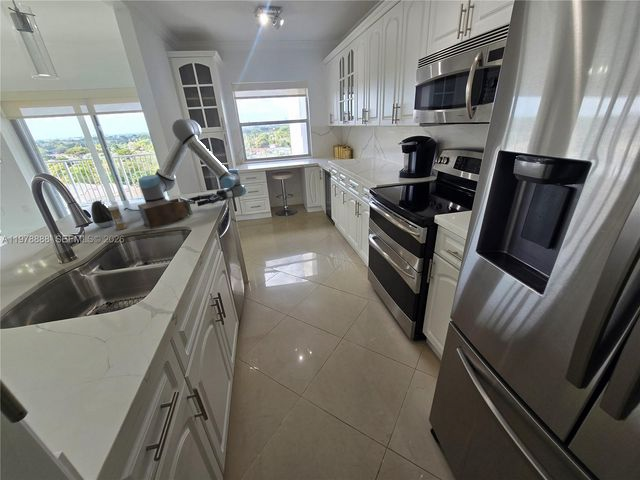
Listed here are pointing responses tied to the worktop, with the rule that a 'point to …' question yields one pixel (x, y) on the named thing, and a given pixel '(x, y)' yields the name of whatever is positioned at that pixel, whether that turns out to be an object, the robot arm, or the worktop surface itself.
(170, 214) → the cabinet
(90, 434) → the worktop surface
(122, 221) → the sprinkles bottle
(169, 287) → the worktop surface
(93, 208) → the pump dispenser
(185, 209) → the drawer
